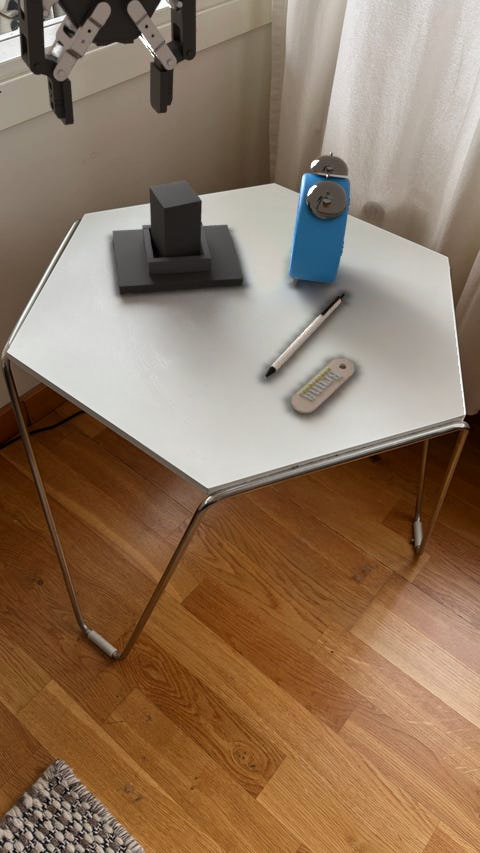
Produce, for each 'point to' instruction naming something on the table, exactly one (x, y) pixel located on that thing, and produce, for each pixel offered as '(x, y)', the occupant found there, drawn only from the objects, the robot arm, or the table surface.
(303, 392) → the keychain
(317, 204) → the alarm clock
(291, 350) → the pen
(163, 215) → the pad block
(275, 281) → the table surface
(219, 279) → the base pad
